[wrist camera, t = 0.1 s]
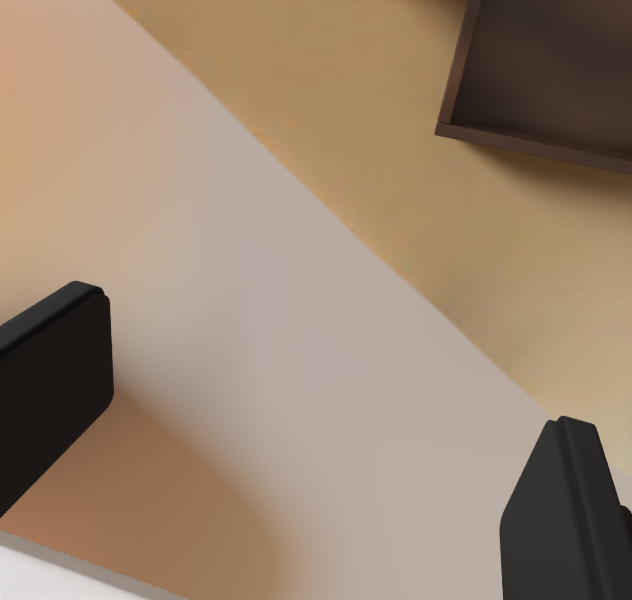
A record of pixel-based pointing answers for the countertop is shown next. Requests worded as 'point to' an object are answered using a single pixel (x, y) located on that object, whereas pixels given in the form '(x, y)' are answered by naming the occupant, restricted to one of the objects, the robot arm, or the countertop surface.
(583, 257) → the countertop surface
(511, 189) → the countertop surface
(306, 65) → the countertop surface
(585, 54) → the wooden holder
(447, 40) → the countertop surface
